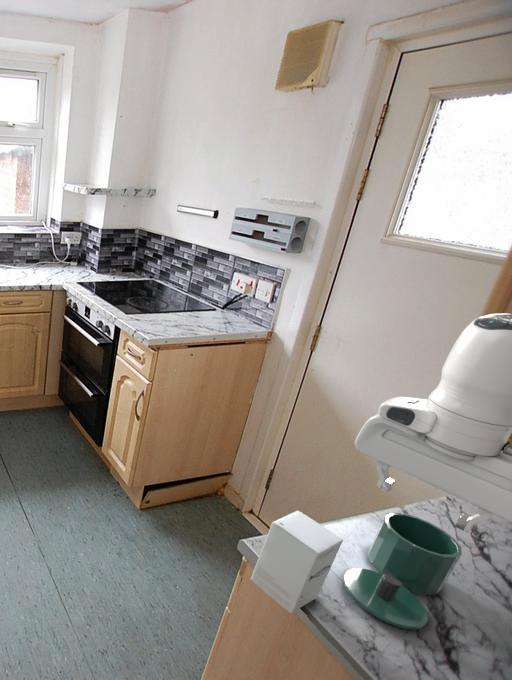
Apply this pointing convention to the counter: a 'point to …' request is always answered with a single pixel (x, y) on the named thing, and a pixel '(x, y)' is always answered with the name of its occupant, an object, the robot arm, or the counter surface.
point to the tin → (414, 553)
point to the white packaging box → (295, 560)
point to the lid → (385, 598)
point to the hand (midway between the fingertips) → (420, 507)
